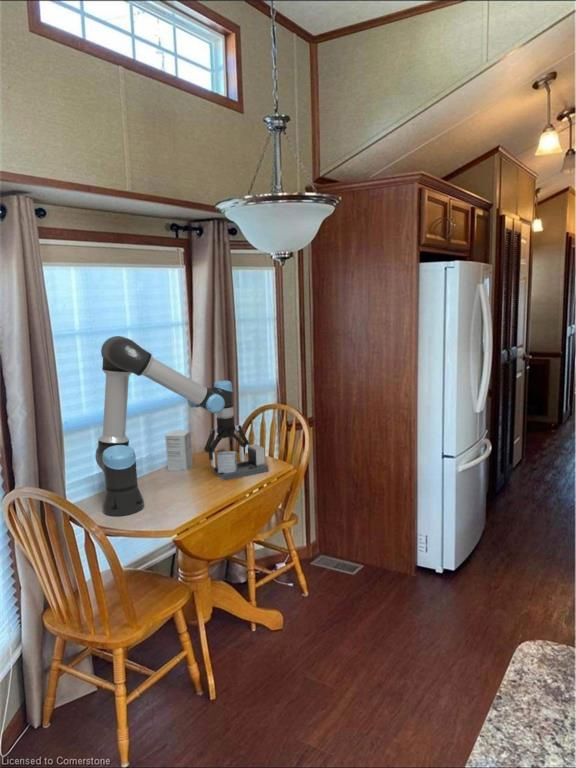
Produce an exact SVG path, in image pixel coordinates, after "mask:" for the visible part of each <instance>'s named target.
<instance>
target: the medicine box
mask: <svg viewBox="0 0 576 768" xmlns="http://www.w3.org/2000/svg"><path fill="white" fill-rule="evenodd" d="M216 459H217V460H216V461H217V462H216V463H217V467H218V473H230V472H235V471H237V463H238V456H237V451H234V450H233V451H230V450H229V451H224V450H223V451H218V453H217V454H216Z"/></svg>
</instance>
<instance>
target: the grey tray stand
mask: <svg viewBox="0 0 576 768" xmlns="http://www.w3.org/2000/svg"><path fill="white" fill-rule="evenodd" d="M247 446H248V447H247V459H248V460H246V461H245V460H244V462H242V461H240V462H237V471H235V472H230V473H218V466H215V467H213V473H215V475H216V474H217V475H218V476H219V477H218V476H217V475H216V476H217V477H218V478H220V477H221V478H222V479H221V478H220V479H221V480H223V481H224V480H226V481H229V480H228V479H231V480H234V479H233V478H236V479H239V478H238V477H240V478H243V476H245V477H249V475H250V476H254V475H259V474H264V473H267V472H269V466H268V465H267V464H265V463H266V461H265V460H266V459H265V447H263V446H261V445H259V444H257V443H254V444H248V445H247Z"/></svg>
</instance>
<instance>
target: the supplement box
mask: <svg viewBox="0 0 576 768" xmlns="http://www.w3.org/2000/svg"><path fill="white" fill-rule="evenodd" d="M191 433H192V432H191V430H190V429H189V430H186V429H184V430H183V429H182V430H179V429H175V430H174V429H173V430H171V431H170V432H168V433H167V434H166V435H164V437H165V439H164V440H165V449H166V463H167V471H169V472H172V471H173V472H175V471H178V472H187V471H188V470H190V468H191V467H192V466H193V465H194V464H193V463H194V462H193V461H194V460H193V449H192V434H191ZM186 470H187V471H186Z"/></svg>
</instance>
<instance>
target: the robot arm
mask: <svg viewBox="0 0 576 768" xmlns="http://www.w3.org/2000/svg"><path fill="white" fill-rule="evenodd" d="M100 354H101V358H102V366H101V367H102V372H103V373H104V374H105V385H104V387H105V390H104V403H103V404H104V408H103V424H102V435H101V436H100V437H98V442H97V448H96V451H95V456H94V457H95V462H96V464H97V465H98V468H100V469H101V471H102V472H103V475H104V484H105V495H104V498H103V503H102V512H103V514H104V515H106V516H111V517H123V516H129V515H132V514H135V513H138V512H139V511H142V510H143V509H144V507H145V500H144V497H143V496H142V493H141V491H140V488H139V485H138V474H137V472H138V471H137V458H136V457H137V455H136V453H135V450H134V448H132V446H130V439H129V438H128V437H127V435H126V428H127V412H128V410H127V409H128V398H129V395H128V394H129V381H130V376H131V374H134V375H136V376H137V377H140V376H144V377H145V378H147V379H149V380H151V381H152V382H154V383H155V384H159V385H160V386H162V387H164V388H165V389H167V390H168V391H171V392H173V393H175V394H177V395H178V396H180V397H182V398H184V399H186V400H187V405H188V407H189V408H202V409H204V410H206V411H208V412H209V413H211V414H215V415H216V428H215V429H213V428H211V429H210V430H209V436H208V439H207V441H206V443H205V446H204V449H203V451H204V452H206V453H208V459H209V460H210V462H211V467H213V468H214V467H216V455H215V452H214V450H215V449H216V448H217V446H218V445H219V443H220V442H221V440H222V439H226V438H233V439H234V440H235V441H236V442H237V443H238V444H239V446H238V447H239V450H238V451H239V460H240V462H244V461H245V454H246V448H247V446H248V445H250V442H249V440H248V438H247V437H246V434H245V433H244V432H243V431H244V430H243V429H242V425H240V424H236V425H235V416H234V415H235V414H234V413H235V412H234V411H235V410H234V398H233V397H234V394H233V393H234V390H233V384H232V382H231V381H230V380H217V381H215V382H214V383H213V384H214V385H213V386H211V387H205V386H204V385H202V384H200V383H198V382H196V381H194V380H193V379H191V378H189V377H187V376H186V375H184V374H182V373H181V372H178V371H177V370H175V369H173V368H172V367H170V366H168V365H167V364H165V363H162V362H161V361H160V360H157V359H156V358H154V357H153V354H152V353H150V352H149V351H147V350H146V349H144V348H143V347H141V346H140V345H139V344H138V343H137V342H135V341H134V340H132V339H130V338H127V337H125V336H121V335H115V336H111V337H108V338H107V339H106V340H104V342H103V343H102V345H101V348H100ZM235 431H237V432H238V434H239V436H240V437H241V439H240V437H238V436H237V434H236V433H235ZM216 434H217V435H216ZM215 435H216V437H215ZM214 437H215V439H214Z"/></svg>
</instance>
